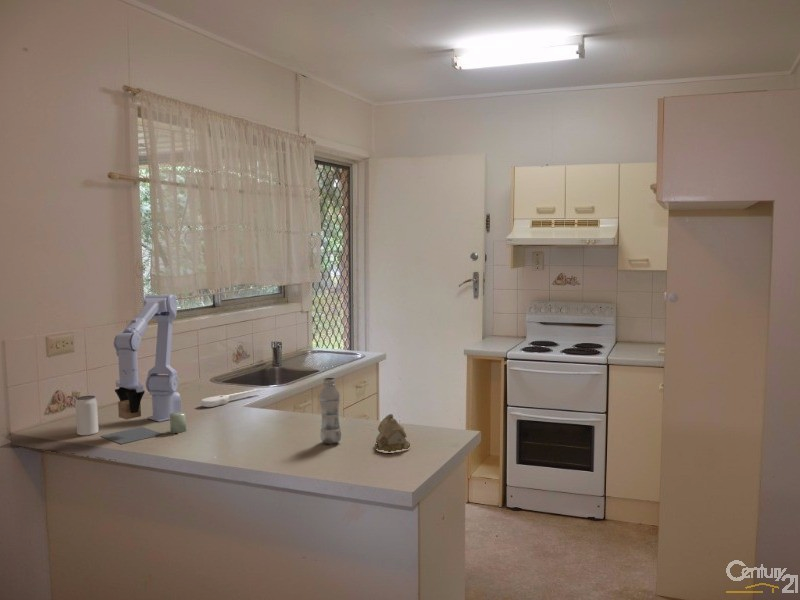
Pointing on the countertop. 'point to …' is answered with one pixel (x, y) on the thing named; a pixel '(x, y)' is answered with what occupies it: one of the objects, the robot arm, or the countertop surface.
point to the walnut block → (127, 410)
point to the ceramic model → (391, 435)
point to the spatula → (221, 399)
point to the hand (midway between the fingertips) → (130, 411)
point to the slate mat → (131, 435)
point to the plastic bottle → (330, 412)
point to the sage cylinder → (177, 422)
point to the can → (86, 415)
